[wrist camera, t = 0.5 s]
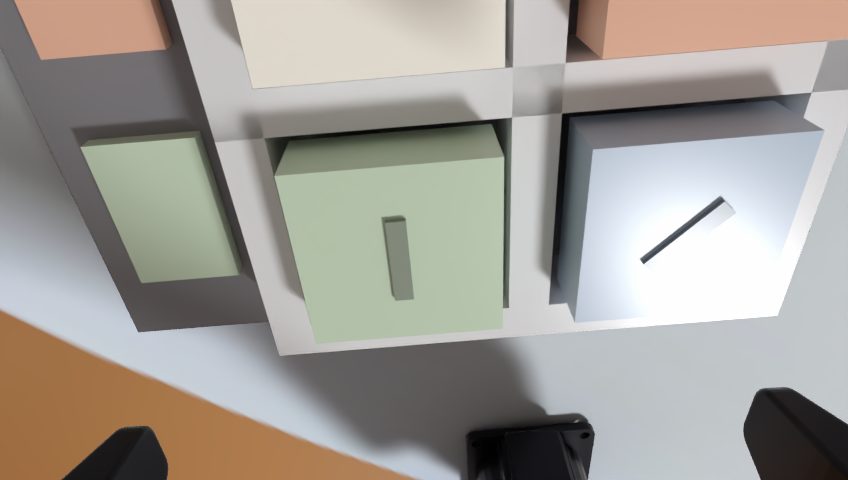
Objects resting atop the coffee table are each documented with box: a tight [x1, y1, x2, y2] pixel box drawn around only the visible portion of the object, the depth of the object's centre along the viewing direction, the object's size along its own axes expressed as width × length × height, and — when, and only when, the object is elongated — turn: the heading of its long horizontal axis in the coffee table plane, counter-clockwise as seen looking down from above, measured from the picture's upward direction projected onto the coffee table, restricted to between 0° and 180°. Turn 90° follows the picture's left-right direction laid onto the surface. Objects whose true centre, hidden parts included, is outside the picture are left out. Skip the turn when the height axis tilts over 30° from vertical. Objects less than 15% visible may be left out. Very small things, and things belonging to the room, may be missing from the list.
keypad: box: [0, 0, 848, 356], centre depth 15 cm, size 17×22×6 cm
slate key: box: [557, 100, 825, 323], centre depth 15 cm, size 5×5×2 cm
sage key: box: [274, 124, 504, 344], centre depth 15 cm, size 5×5×2 cm
